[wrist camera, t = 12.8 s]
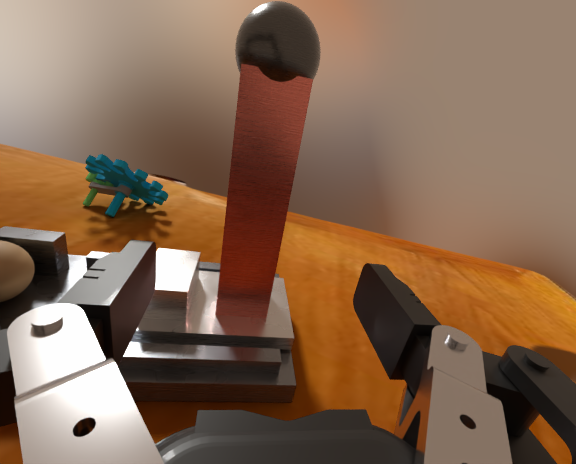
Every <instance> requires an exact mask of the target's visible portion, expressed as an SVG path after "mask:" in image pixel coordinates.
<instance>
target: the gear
mask: <svg viewBox="0 0 576 464" xmlns="http://www.w3.org/2000/svg"><path fill="white" fill-rule="evenodd" d="M86 164H87V166H86V167H85V168H86V169H87V170H88V171H89V172H90V173H89V174H88V176H87V177H86V180H87V181H89V182H91V183H90V185H89V188H90V189H92V190H91V191H90V193H89V194H88V196H87V197H86V199H85V201H84V202H83V205H85V206H89V205H90V204H91V202H92V201H93V199H94V197H95V196H96V194H97V193H103V194H108V195H114V196H115V197H114V199H113V201H112V202H111V204H110V206H109V207H108V209H107V211H106V212H105V214H106V215H108V216H111V217H114V216H115V214H116V212H117V211H118V209H119V207H120V205H121V204H122V202H123V200H124V198H125V197H126V198H128V197H129V198H131V199H133V200H136V201H138V200H139V198H140V199H142V200H143V201H144V202H145V203H147V204H150V205H153V203H154V202H155V203H157V204H159V205H162V204H163V202H164V201H166V200H167V198H168V194H167V193H166V192H165V191H162V190H161V189H162V188H163V186H162V185H161V184H160V183H158V182H157V181H153V182H152V184H150V183H148V182H146V181H145V180H146V178H147V176H148V174H147V173H146V172H144V171H142V170H139V169H137V171H136V172H135V174H134V173H133V172H132V171H131V170H130V169H129V167H128V164H127V163H126V162H125V161H122V160H118V159H116V160H115V162H114V163H113V162H112V161H111V160H110V159H109V158H108V157H106V156H105V155H103V154H101V155H98V157H97V158H95V157H93V156H90V155H89V157H88V158H87V160H86Z"/></svg>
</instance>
